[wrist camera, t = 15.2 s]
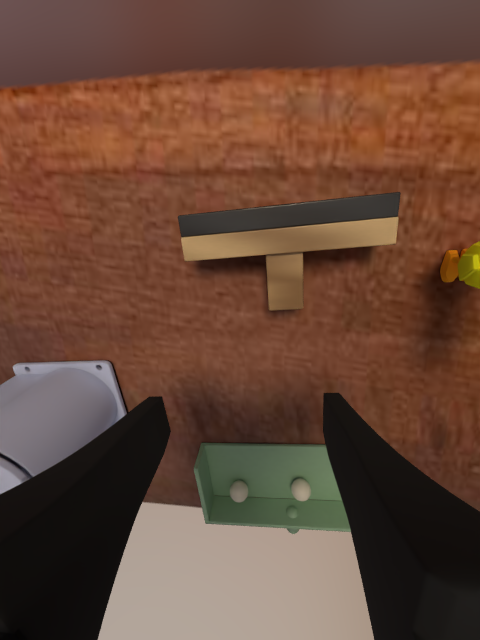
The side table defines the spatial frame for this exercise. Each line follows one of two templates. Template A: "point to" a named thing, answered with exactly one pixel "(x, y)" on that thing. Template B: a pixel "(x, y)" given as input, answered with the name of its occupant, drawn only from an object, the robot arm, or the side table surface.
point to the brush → (290, 236)
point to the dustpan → (269, 486)
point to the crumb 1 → (238, 491)
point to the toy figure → (462, 266)
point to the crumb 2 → (301, 489)
